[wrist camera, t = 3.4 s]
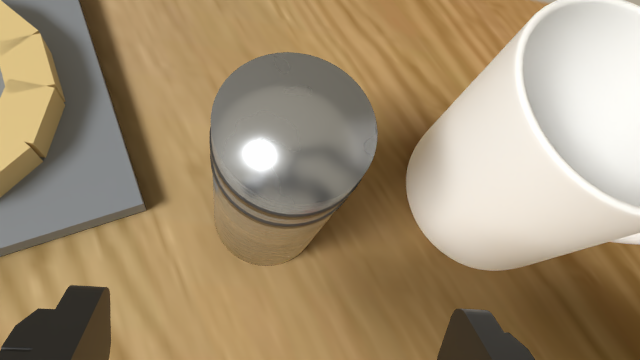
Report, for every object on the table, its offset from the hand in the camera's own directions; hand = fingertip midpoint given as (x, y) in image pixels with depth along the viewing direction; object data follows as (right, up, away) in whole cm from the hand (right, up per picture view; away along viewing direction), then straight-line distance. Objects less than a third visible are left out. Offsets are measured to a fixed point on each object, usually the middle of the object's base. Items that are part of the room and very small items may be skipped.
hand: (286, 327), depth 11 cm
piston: (-2, +2, +11) cm, 11 cm away
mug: (+11, +2, +14) cm, 18 cm away
